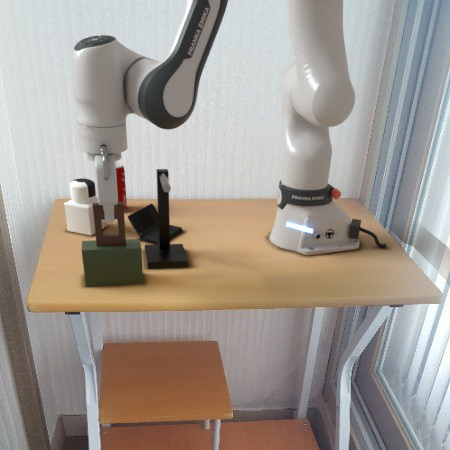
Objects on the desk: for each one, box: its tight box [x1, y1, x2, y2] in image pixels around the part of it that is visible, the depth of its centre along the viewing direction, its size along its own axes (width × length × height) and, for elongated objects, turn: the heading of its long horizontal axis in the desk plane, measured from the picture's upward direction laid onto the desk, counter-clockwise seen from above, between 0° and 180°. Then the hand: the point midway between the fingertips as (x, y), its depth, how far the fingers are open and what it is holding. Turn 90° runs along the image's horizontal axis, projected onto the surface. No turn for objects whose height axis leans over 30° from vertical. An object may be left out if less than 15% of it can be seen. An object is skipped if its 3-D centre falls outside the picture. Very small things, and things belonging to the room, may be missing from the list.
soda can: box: [116, 161, 128, 212], centre depth 156 cm, size 6×6×12 cm
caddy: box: [81, 202, 144, 287], centre depth 120 cm, size 12×5×16 cm, turn 100°
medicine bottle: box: [63, 177, 107, 236], centre depth 144 cm, size 7×7×12 cm
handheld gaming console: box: [127, 203, 183, 245], centre depth 145 cm, size 12×7×10 cm
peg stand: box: [144, 168, 189, 270], centre depth 129 cm, size 9×11×19 cm
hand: (109, 212), depth 117 cm, fingers open, 8 cm apart
